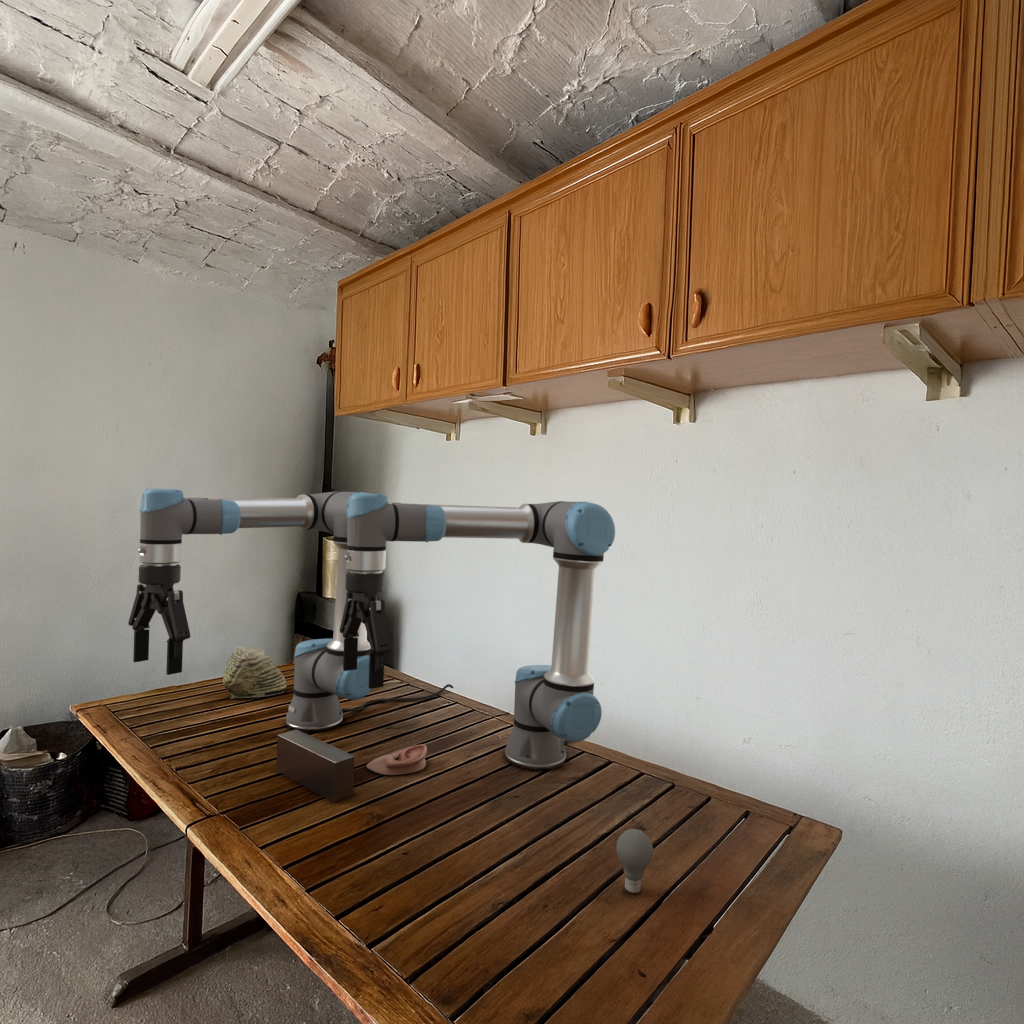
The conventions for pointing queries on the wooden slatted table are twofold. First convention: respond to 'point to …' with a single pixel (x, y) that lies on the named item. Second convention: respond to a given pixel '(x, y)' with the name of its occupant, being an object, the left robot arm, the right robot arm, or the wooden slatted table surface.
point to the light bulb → (634, 857)
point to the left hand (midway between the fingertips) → (157, 667)
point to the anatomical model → (400, 761)
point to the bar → (315, 765)
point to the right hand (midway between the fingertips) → (362, 678)
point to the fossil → (252, 674)
